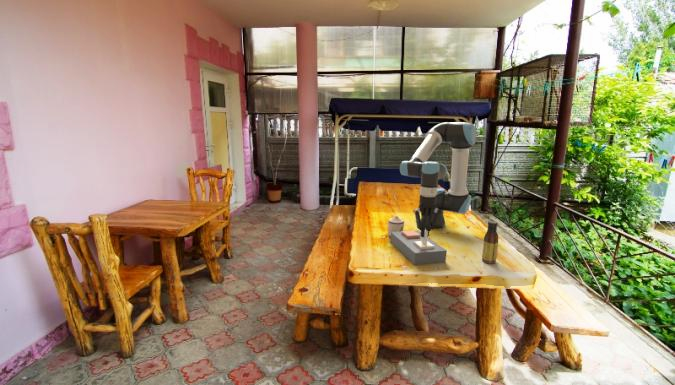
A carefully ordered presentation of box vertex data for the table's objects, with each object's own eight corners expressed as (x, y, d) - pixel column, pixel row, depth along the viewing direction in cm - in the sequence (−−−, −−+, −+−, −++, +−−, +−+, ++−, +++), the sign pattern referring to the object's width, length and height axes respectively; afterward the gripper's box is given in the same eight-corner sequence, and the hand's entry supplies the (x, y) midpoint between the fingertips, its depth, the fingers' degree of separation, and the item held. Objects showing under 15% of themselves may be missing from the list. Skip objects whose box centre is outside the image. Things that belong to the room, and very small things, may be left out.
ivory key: (426, 248, 158) (426, 240, 157) (433, 253, 152) (434, 245, 151) (413, 249, 157) (413, 241, 156) (420, 255, 150) (420, 247, 149)
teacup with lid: (401, 239, 178) (403, 219, 175) (385, 236, 181) (386, 217, 179) (405, 232, 189) (406, 213, 186) (390, 230, 192) (391, 211, 190)
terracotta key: (413, 237, 171) (413, 230, 171) (419, 242, 165) (420, 234, 164) (401, 238, 170) (401, 231, 169) (407, 243, 163) (407, 235, 162)
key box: (417, 240, 177) (418, 230, 175) (445, 262, 150) (446, 250, 149) (390, 242, 173) (391, 232, 171) (414, 265, 146) (415, 253, 145)
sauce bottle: (491, 258, 155) (497, 219, 151) (498, 264, 149) (504, 223, 145) (478, 258, 155) (483, 219, 151) (484, 264, 149) (490, 223, 145)
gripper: (419, 197, 143) (415, 247, 148) (445, 196, 146) (440, 245, 151) (411, 193, 150) (408, 241, 155) (436, 193, 153) (432, 239, 158)
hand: (424, 243), depth 153 cm, fingers closed
